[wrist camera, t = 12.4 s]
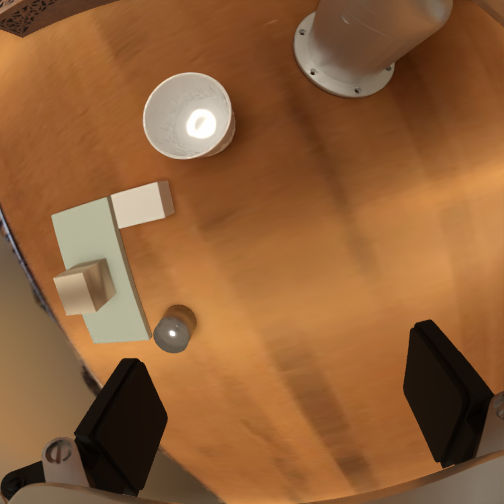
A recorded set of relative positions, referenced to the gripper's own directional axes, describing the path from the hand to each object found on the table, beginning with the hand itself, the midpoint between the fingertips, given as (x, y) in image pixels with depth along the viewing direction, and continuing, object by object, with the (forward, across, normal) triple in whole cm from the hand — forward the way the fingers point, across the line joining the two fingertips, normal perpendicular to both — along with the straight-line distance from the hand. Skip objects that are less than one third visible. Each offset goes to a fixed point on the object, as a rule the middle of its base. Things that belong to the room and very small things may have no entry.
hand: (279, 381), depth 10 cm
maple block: (+26, +24, +3) cm, 36 cm away
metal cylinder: (+27, +14, +11) cm, 33 cm away
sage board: (+27, +24, +3) cm, 37 cm away
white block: (+28, +14, -5) cm, 32 cm away
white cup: (+28, +6, -12) cm, 31 cm away
